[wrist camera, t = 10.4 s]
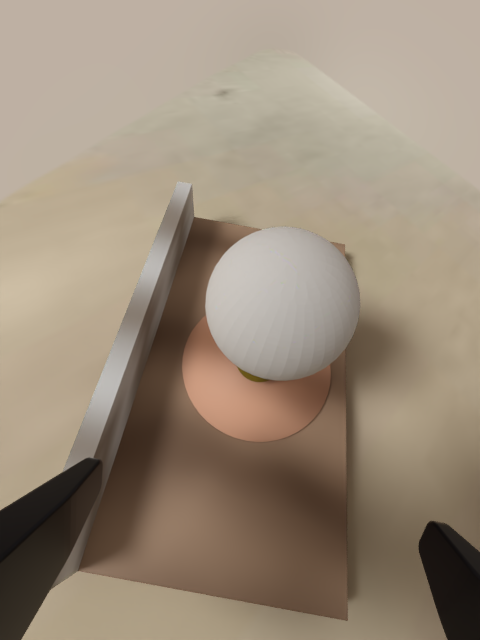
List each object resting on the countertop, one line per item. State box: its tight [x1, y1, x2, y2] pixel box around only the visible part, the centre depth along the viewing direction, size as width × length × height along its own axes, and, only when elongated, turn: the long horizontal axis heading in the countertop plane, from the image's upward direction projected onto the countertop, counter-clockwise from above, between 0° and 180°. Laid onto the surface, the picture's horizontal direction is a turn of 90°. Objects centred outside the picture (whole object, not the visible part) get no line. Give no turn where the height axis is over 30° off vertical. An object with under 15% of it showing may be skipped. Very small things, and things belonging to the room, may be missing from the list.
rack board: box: [50, 182, 348, 621], centre depth 18 cm, size 22×13×4 cm, turn 171°
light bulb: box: [205, 227, 360, 382], centre depth 14 cm, size 6×6×10 cm
